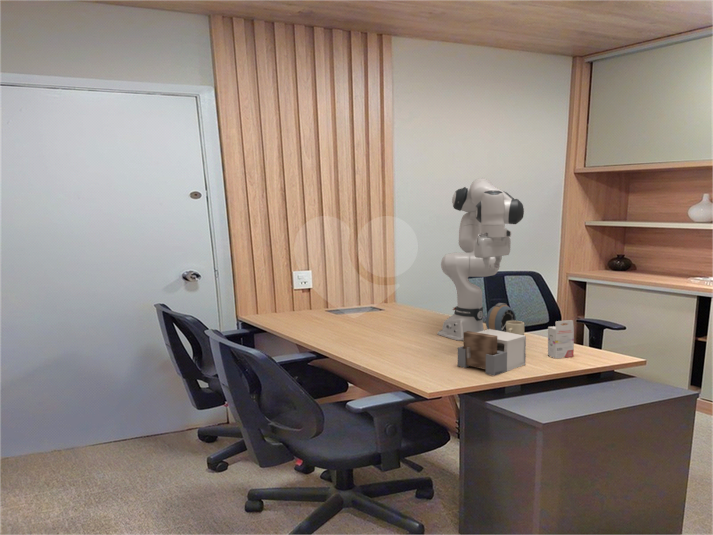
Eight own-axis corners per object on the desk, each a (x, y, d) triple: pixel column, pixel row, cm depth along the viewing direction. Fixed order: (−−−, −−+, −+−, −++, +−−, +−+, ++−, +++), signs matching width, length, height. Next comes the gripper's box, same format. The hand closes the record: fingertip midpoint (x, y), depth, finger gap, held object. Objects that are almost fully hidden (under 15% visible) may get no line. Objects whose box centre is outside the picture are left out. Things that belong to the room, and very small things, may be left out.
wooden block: (461, 364, 188) (462, 332, 186) (467, 362, 191) (467, 331, 189) (491, 371, 179) (491, 337, 178) (496, 368, 182) (497, 335, 181)
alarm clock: (500, 348, 214) (501, 306, 213) (481, 343, 222) (481, 303, 220) (519, 342, 223) (520, 302, 222) (500, 338, 231) (501, 299, 229)
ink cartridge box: (565, 353, 204) (566, 317, 203) (573, 357, 199) (574, 320, 198) (546, 355, 202) (547, 319, 200) (554, 358, 197) (555, 321, 196)
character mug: (512, 349, 211) (512, 318, 210) (528, 352, 206) (529, 321, 205) (500, 355, 203) (500, 323, 202) (517, 358, 198) (517, 325, 197)
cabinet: (457, 366, 190) (457, 337, 189) (489, 356, 202) (489, 328, 201) (494, 375, 177) (494, 344, 176) (525, 364, 190) (525, 335, 189)
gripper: (484, 233, 187) (484, 271, 189) (513, 232, 201) (513, 266, 203) (470, 233, 192) (470, 270, 193) (499, 231, 206) (499, 265, 207)
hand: (492, 268), depth 198 cm, fingers open, 5 cm apart
